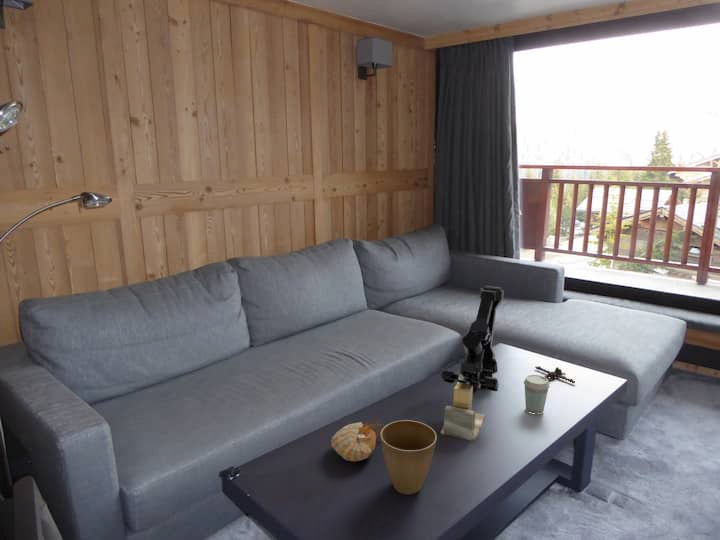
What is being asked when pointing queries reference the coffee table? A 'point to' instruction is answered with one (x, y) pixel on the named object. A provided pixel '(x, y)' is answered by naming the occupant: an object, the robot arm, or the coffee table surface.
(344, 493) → the coffee table surface
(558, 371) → the dark brown branching piece
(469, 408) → the latch bar
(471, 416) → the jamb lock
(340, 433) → the nautilus
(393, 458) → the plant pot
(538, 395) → the coffee cup
